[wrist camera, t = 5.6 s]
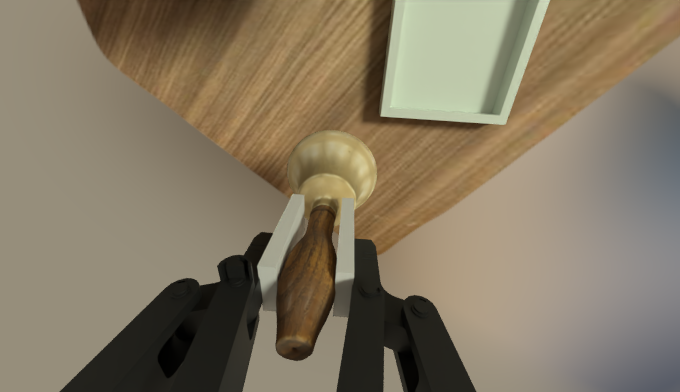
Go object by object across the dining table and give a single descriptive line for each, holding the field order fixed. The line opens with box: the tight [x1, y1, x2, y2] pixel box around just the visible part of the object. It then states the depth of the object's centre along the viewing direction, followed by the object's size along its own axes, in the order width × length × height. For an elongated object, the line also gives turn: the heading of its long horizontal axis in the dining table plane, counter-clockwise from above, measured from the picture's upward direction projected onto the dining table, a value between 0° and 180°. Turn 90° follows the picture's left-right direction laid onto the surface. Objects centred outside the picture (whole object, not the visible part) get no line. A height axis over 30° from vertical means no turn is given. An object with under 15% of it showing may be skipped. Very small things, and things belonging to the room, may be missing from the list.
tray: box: [379, 0, 550, 125], centre depth 27 cm, size 15×15×2 cm
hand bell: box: [276, 130, 377, 361], centre depth 15 cm, size 8×8×16 cm
